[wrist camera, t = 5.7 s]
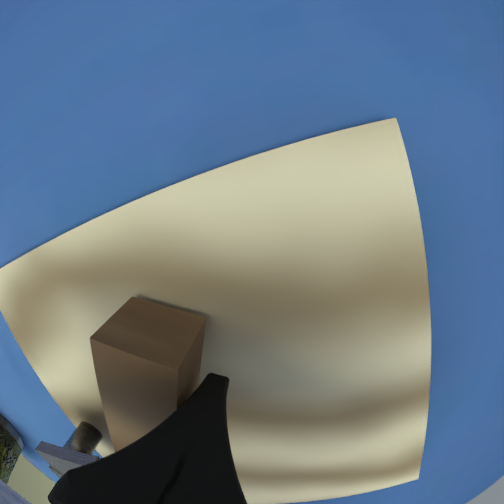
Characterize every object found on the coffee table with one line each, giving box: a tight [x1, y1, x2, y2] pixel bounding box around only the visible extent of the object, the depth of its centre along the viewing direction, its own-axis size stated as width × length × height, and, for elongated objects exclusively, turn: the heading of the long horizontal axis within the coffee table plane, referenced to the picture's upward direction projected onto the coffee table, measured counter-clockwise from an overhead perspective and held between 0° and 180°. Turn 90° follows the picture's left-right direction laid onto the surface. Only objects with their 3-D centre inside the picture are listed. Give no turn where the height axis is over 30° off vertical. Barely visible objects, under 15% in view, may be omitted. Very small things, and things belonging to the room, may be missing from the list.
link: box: [90, 296, 206, 452], centre depth 13 cm, size 18×4×3 cm, turn 170°
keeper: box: [35, 421, 102, 478], centre depth 14 cm, size 10×6×5 cm, turn 19°
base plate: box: [0, 118, 431, 504], centre depth 14 cm, size 21×22×1 cm
